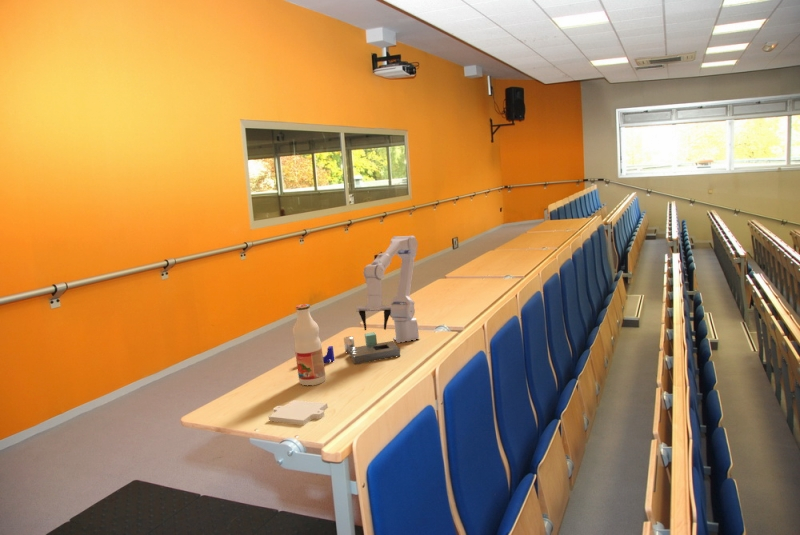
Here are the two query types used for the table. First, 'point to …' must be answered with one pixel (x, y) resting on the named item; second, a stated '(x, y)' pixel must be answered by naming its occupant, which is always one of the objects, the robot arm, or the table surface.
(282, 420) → the mounting plate
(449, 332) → the table surface
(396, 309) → the robot arm
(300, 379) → the fruit juice
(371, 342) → the square peg
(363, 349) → the bore block
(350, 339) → the round peg
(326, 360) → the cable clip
